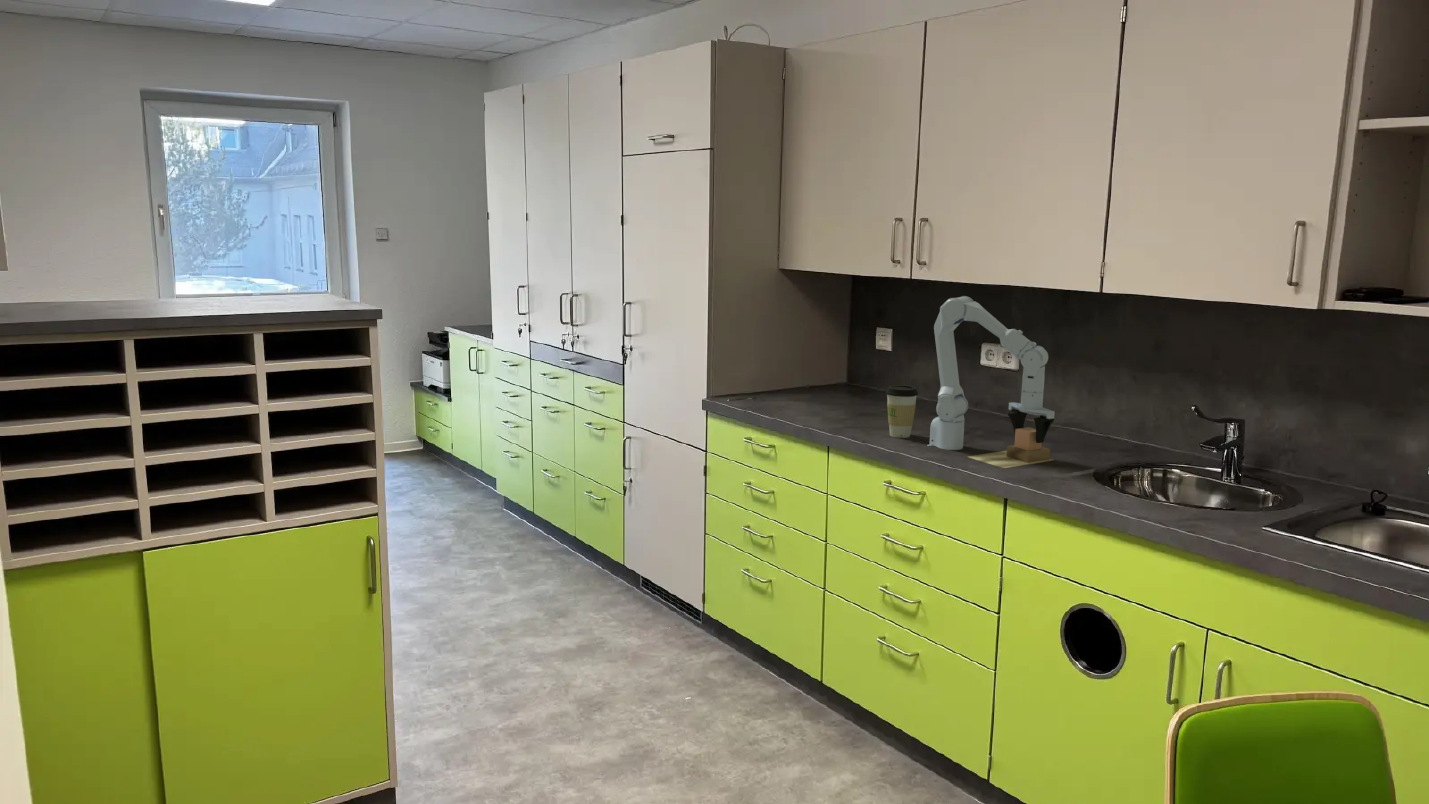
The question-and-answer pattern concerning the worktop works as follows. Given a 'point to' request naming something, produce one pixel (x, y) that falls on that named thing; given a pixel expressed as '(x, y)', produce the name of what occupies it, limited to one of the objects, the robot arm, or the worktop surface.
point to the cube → (1026, 439)
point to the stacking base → (1001, 460)
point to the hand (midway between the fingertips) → (1029, 439)
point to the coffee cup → (901, 409)
